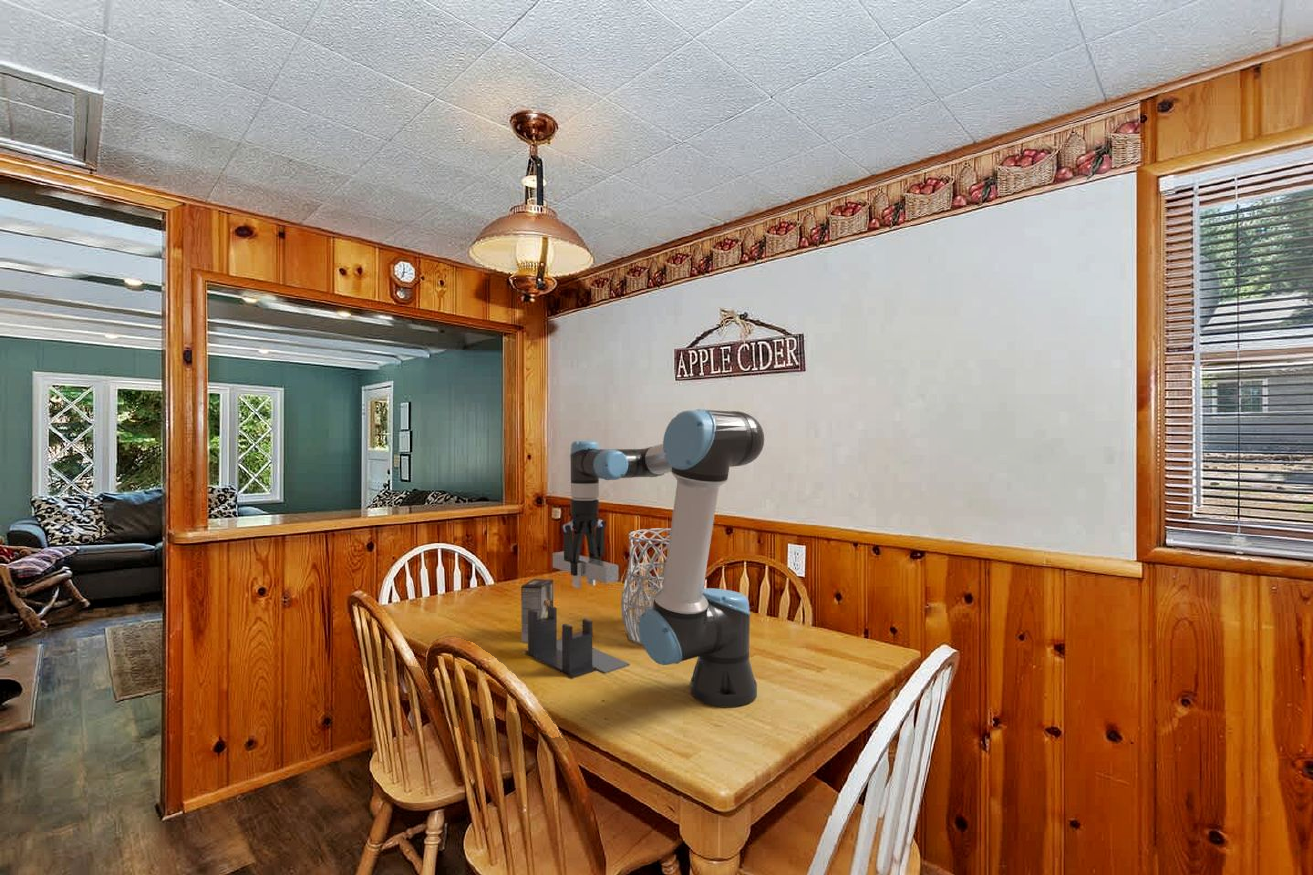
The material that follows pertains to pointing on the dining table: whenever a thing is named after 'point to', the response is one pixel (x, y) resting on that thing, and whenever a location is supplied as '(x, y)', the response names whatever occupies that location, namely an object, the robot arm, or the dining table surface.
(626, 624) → the vase
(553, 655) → the rack
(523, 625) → the coffee box
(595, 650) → the mat
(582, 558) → the rail
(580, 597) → the dining table surface
